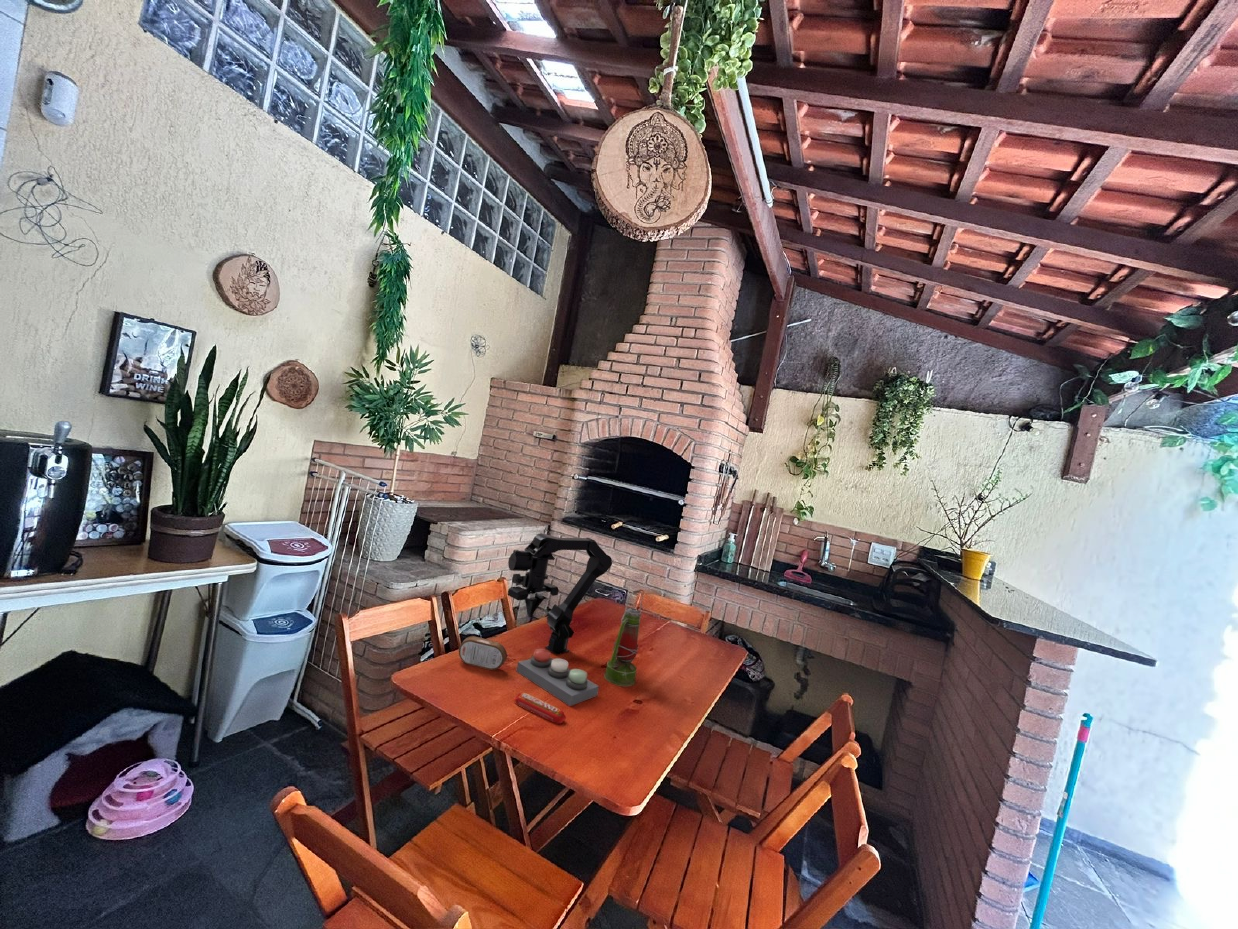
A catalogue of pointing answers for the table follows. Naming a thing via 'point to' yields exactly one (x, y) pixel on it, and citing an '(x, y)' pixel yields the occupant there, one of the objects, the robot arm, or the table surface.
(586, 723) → the table surface
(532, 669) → the button panel
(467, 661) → the tin
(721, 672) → the table surface
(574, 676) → the green button
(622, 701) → the table surface
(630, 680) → the lantern
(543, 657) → the red button
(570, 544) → the robot arm
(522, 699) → the candy bar
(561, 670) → the white button
